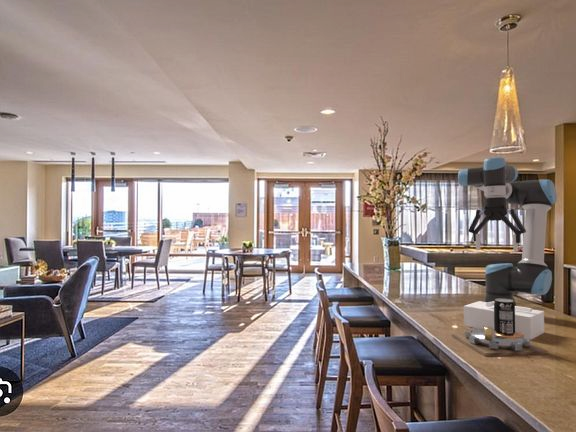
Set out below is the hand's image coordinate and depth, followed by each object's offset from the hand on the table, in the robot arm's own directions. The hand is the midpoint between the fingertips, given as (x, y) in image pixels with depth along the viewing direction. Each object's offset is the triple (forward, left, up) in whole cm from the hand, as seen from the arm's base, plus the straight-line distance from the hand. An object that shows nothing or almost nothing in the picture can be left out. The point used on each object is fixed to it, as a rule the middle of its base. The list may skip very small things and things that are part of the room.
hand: (496, 250), depth 150 cm
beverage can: (+5, +12, -29) cm, 32 cm away
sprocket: (+9, +14, -31) cm, 35 cm away
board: (+9, +14, -32) cm, 36 cm away
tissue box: (-5, -5, -33) cm, 34 cm away
